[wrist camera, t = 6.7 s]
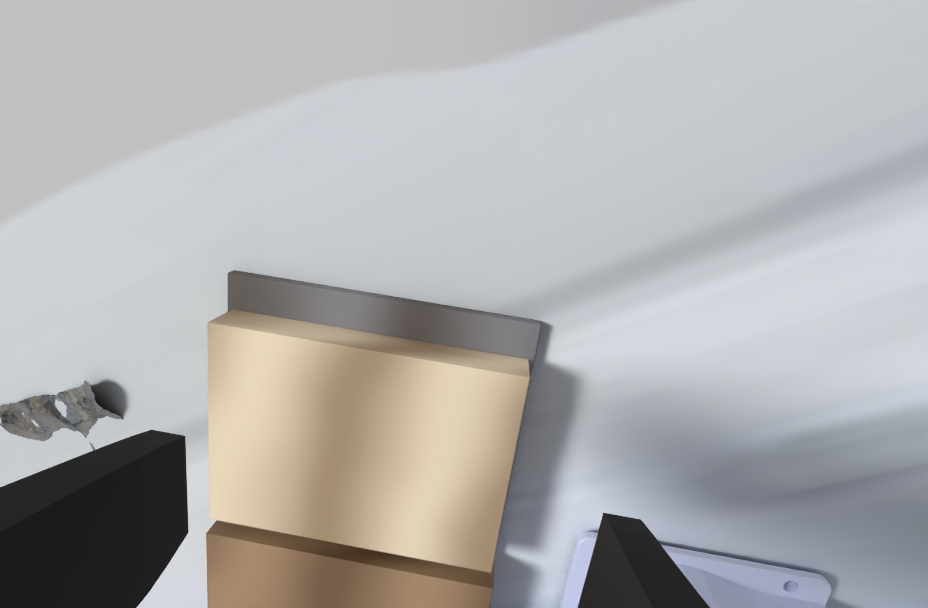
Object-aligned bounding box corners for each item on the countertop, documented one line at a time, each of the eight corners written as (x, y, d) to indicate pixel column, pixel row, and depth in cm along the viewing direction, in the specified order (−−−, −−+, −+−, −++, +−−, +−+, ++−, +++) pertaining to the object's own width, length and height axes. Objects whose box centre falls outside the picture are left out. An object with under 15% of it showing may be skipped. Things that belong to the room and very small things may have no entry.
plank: (528, 359, 17) (529, 377, 15) (492, 541, 19) (491, 572, 18) (232, 309, 17) (207, 322, 16) (231, 492, 20) (209, 518, 18)
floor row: (540, 321, 17) (543, 340, 15) (474, 650, 21) (470, 696, 20) (234, 270, 17) (201, 283, 16) (233, 602, 22) (208, 642, 20)
